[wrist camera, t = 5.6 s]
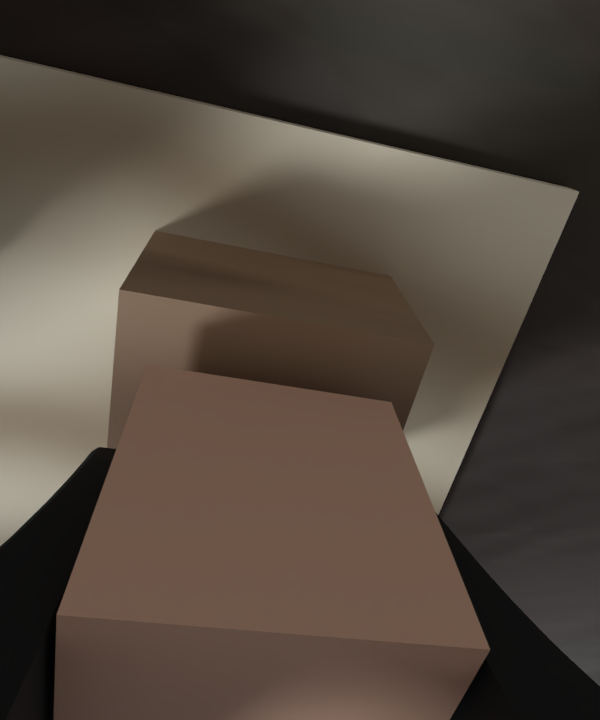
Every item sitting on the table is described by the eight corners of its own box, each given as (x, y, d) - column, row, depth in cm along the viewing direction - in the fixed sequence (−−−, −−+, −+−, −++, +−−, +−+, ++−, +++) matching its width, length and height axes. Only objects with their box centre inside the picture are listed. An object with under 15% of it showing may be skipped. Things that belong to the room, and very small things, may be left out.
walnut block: (334, 459, 17) (354, 562, 14) (134, 432, 16) (100, 536, 13) (390, 276, 14) (434, 344, 11) (154, 230, 13) (118, 289, 10)
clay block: (333, 570, 12) (375, 847, 8) (127, 549, 12) (49, 842, 7) (391, 402, 10) (491, 649, 6) (146, 364, 10) (56, 615, 5)
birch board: (360, 672, 23) (363, 686, 23) (3, 647, 21) (-4, 662, 20) (567, 187, 14) (579, 191, 14) (-16, 51, 12) (-29, 50, 11)
